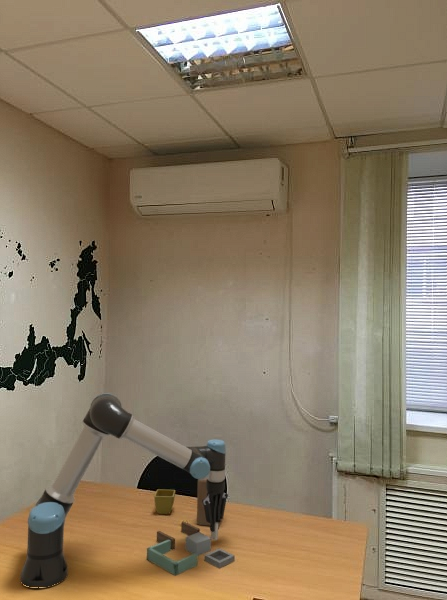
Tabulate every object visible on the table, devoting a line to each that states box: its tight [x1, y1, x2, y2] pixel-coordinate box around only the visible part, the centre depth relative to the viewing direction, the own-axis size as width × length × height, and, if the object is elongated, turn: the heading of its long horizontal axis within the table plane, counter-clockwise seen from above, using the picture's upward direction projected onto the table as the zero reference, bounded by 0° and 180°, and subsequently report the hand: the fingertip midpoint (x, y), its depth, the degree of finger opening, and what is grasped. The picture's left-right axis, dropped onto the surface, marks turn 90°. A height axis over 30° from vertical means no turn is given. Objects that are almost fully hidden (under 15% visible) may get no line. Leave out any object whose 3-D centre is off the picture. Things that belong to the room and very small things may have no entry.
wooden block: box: [196, 477, 223, 527], centre depth 216 cm, size 10×10×20 cm
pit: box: [204, 548, 236, 569], centre depth 181 cm, size 8×8×2 cm
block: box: [185, 531, 212, 557], centre depth 189 cm, size 7×7×5 cm
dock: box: [146, 540, 198, 577], centre depth 179 cm, size 10×16×4 cm, turn 46°
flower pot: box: [153, 489, 176, 515], centre depth 226 cm, size 9×9×9 cm
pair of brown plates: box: [156, 521, 201, 551], centre depth 197 cm, size 14×10×4 cm
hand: (214, 538), depth 196 cm, fingers closed
